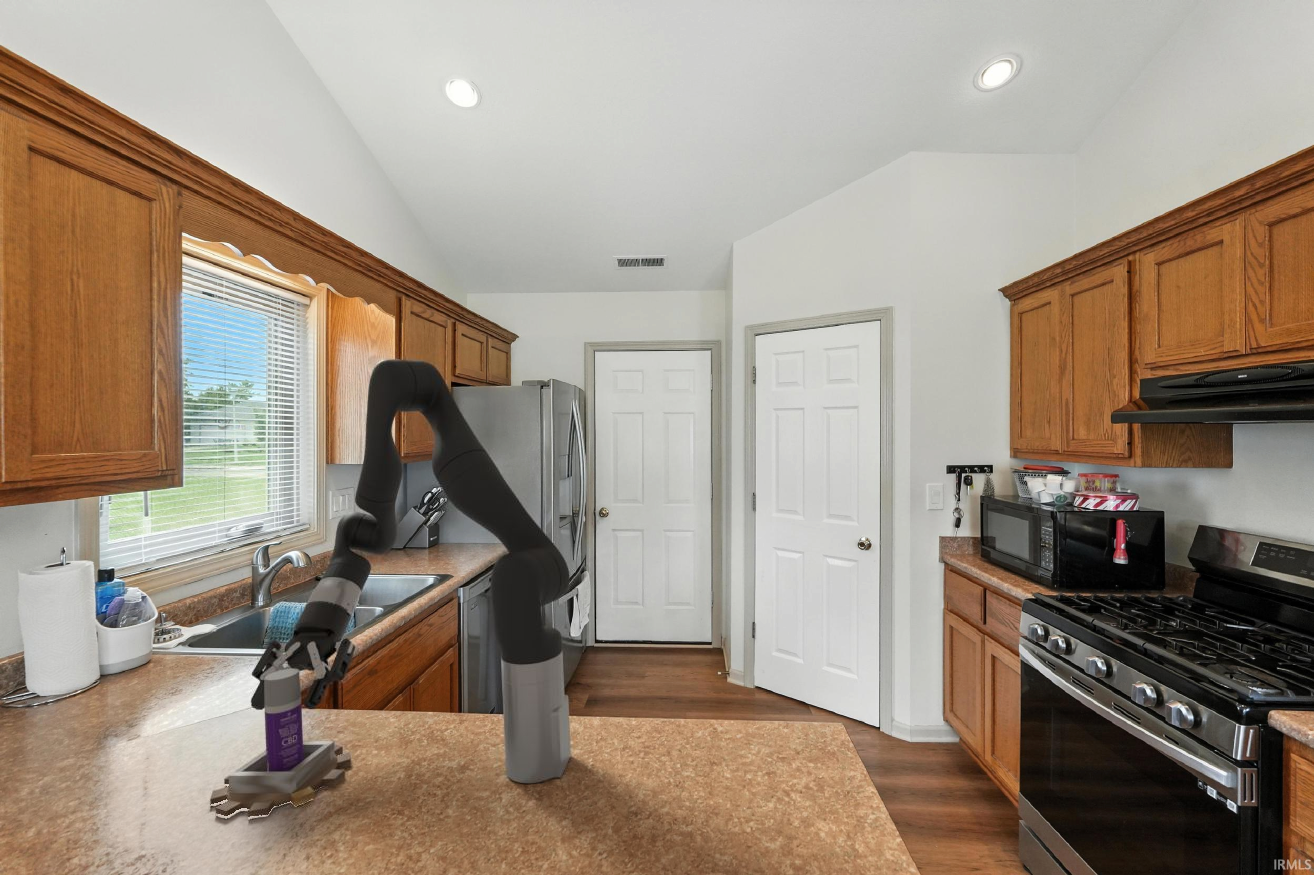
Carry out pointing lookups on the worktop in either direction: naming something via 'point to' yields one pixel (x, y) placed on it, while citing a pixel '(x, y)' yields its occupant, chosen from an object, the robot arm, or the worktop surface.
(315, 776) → the sprocket
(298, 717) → the container
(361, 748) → the worktop surface
